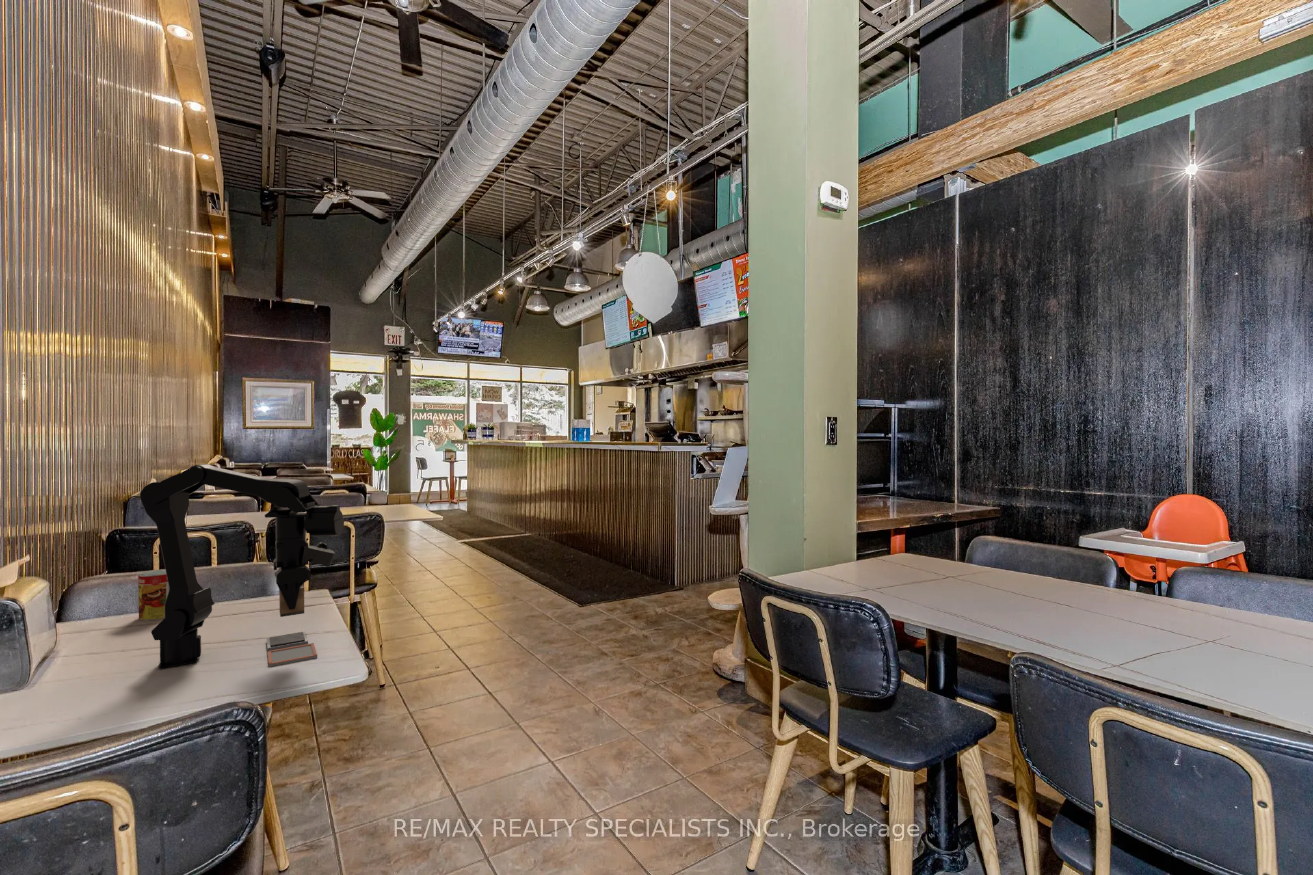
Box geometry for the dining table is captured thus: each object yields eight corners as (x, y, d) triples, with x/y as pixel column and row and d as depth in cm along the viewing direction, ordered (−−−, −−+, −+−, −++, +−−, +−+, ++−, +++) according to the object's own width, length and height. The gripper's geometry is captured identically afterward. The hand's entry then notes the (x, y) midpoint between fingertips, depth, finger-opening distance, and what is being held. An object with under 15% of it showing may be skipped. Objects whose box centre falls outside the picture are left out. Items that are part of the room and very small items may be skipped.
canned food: (144, 614, 165) (144, 570, 165) (180, 610, 168) (179, 567, 168) (134, 622, 158) (133, 576, 158) (171, 618, 161) (170, 573, 161)
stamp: (280, 616, 130) (280, 589, 130) (279, 611, 134) (279, 585, 134) (304, 613, 133) (304, 586, 133) (302, 608, 137) (302, 582, 137)
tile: (268, 666, 127) (268, 663, 127) (267, 653, 135) (267, 651, 135) (317, 657, 132) (317, 654, 132) (313, 645, 140) (313, 642, 140)
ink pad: (267, 651, 136) (267, 646, 136) (266, 641, 143) (266, 636, 143) (308, 644, 140) (308, 639, 140) (305, 634, 147) (305, 630, 147)
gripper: (336, 539, 130) (337, 610, 130) (327, 527, 146) (327, 591, 146) (276, 544, 124) (276, 619, 124) (273, 532, 139) (273, 599, 139)
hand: (291, 606), depth 133 cm, fingers closed on stamp, 4 cm apart
